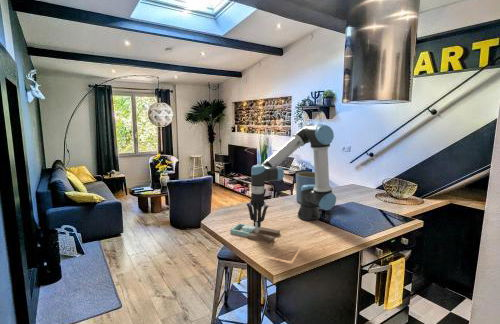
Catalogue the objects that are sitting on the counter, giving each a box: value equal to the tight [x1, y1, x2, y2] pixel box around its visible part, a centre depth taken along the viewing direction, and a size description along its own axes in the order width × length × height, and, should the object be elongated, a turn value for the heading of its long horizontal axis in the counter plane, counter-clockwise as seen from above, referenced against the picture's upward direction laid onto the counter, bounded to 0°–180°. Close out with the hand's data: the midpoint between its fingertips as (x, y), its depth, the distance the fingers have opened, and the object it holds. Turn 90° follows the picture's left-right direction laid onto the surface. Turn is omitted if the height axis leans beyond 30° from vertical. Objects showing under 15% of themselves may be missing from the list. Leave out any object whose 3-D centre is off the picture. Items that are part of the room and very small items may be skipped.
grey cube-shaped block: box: [241, 224, 250, 232], centre depth 159 cm, size 4×4×4 cm
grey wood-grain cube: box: [248, 225, 255, 233], centre depth 157 cm, size 4×4×4 cm
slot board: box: [247, 226, 281, 244], centre depth 154 cm, size 14×14×3 cm
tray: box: [229, 222, 252, 238], centre depth 160 cm, size 11×12×3 cm
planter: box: [295, 171, 315, 204], centre depth 222 cm, size 23×23×24 cm
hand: (257, 232), depth 156 cm, fingers closed
